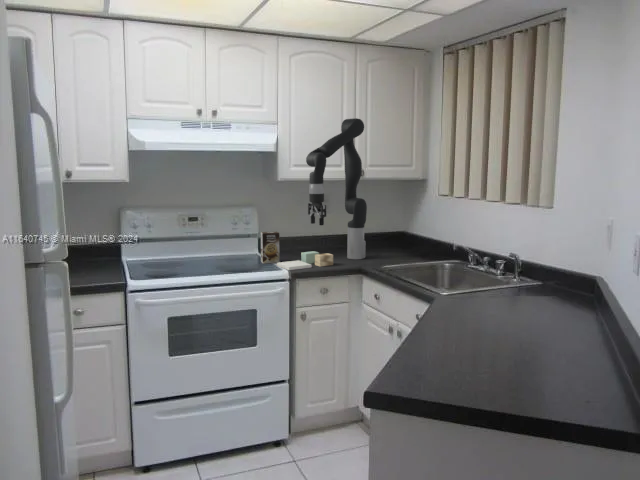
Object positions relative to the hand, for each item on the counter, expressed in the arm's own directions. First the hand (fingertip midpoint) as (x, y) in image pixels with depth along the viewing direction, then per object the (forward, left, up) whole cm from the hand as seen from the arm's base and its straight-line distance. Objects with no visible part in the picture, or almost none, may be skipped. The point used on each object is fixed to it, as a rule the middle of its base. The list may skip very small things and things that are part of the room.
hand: (317, 224), depth 270 cm
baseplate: (+12, -2, -21) cm, 24 cm away
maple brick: (-3, +2, -21) cm, 22 cm away
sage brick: (0, -7, -21) cm, 23 cm away
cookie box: (+18, -18, -21) cm, 33 cm away
